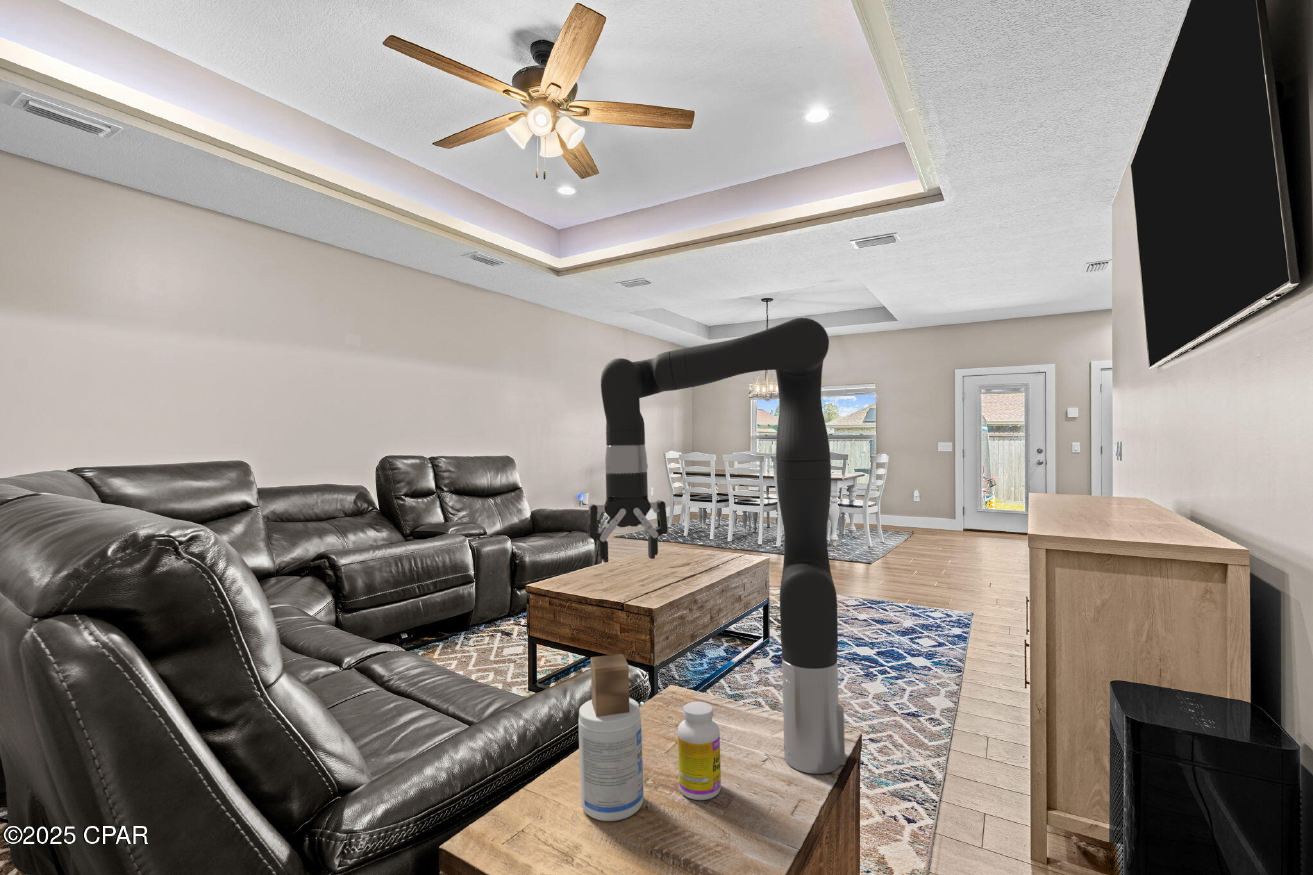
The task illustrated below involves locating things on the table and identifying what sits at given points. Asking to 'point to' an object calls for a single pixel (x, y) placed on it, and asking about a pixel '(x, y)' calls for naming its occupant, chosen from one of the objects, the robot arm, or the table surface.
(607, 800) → the supplement tub
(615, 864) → the table surface
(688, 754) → the supplement bottle
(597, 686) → the walnut block
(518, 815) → the table surface
